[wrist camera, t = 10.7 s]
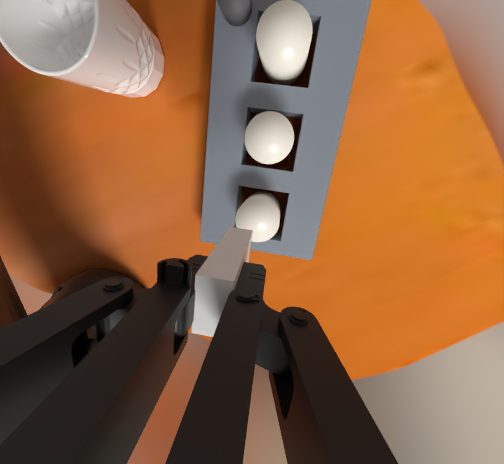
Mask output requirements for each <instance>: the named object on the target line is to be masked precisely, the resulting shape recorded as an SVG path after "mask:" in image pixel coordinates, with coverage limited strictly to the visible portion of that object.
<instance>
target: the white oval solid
mask: <svg viewBox="0 0 504 464" xmlns="http://www.w3.org/2000/svg"><path fill="white" fill-rule="evenodd" d="M293 143H294V131H293V127H292V125H291V123H290V122H289V120H288V119H287V118H286V117H285V116H284V115H282V114H280V113H278V112H274V111H266V112H262V113H260V114H258V115H256V116H255V117H254V118H253V119H252V120H251V121H250V122H249V124H248V126H247V128H246V131H245V146H246V149H247V151H248V153H249V154H250V155H251V157H252V158H253V159H255V160H256V161H258V162H260V163H263V164H274V163H277V162H280V161H281V160H283V159H284V158H285V157H286V156H287V155H288V154H289V152H290V151H291V149H292V146H293Z"/></svg>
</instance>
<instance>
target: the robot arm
mask: <svg viewBox="0 0 504 464" xmlns="http://www.w3.org/2000/svg"><path fill="white" fill-rule="evenodd" d="M252 232H253V230H247V229H241V228H234V227H229V228H228V230H227V231H226V232H225V234H224V235H223V237H222V238H221V239H220V241H219V242H218V244H217V245H216V247H215V248H214V249H213V251H212V252H211V254H210V255H209V256H202V255H195V256H193V257H190V258H189V259H188V260H184V259H178V258H171V259H165V260H162V261H160V262H158V265H157V283H156V284H155V285H154V286H153V287H152V288H148V289H144V288H143V287H142V286H141V285H140V284H139V283H137V282H136V281H135V280H133V279H131V278H130V277H128V276H126V275H124V274H122V273H119V272H116V271H112V270H107V269H91V270H87V271H84V272H81V273H79V274H78V275H76V276H74V277H72V278H71V279H69V280H67V281H66V282H64V283H63V284H62V285H61V286H59V287H58V288H57V290H56V291H55V292H54V293H53V295H52V297H51V299H50V300H48V301H47V302H46V303H45V304H44V305H43V306H42V307H41V308H40V310H39V311H36V312H34V313H32V314H30V315H27V313H26V311H25V309H24V306H23V304H22V302H21V300H20V298H19V296H18V293H17V291H16V289H15V287H14V285H13V283H12V280H11V278H10V276H9V274H8V272H7V269H6V267H5V265H4V263H3V261H2V259H1V256H0V464H127V462H128V460H129V458H130V456H131V454H132V452H133V450H134V448H135V446H136V444H137V442H138V440H139V437H140V436H141V434H142V432H143V430H144V428H145V426H146V423H147V422H148V420H149V417H150V415H151V413H152V412H153V410H154V408H155V405H156V403H157V402H158V400H159V397H160V395H161V393H162V391H163V389H164V387H165V385H166V383H167V381H168V379H169V377H170V375H171V373H172V371H173V369H174V367H175V365H176V363H177V361H178V359H179V357H180V355H181V353H182V351H183V349H184V347H185V345H186V343H187V340H188V330H189V328H190V326H191V324H192V333H195V334H200V335H205V336H211V337H213V338H212V341H211V343H210V346H209V349H208V351H207V354H206V357H205V359H204V362H203V365H202V367H201V370H200V373H199V375H198V378H197V381H196V384H195V386H194V389H193V391H192V394H191V397H190V399H189V402H188V405H187V407H186V410H185V413H184V416H183V418H182V421H181V423H180V426H179V429H178V431H177V434H176V437H175V439H174V442H173V445H172V447H171V450H170V453H169V455H168V458H167V461H166V463H165V464H243V455H244V447H245V440H246V432H247V424H248V416H249V408H250V400H251V391H252V384H253V376H254V367H255V364H257V365H258V366H260V367H262V368H264V369H266V370H268V371H269V379H270V383H271V388H272V393H273V398H274V402H275V407H276V412H277V416H278V421H279V426H280V430H281V435H282V439H283V444H284V449H285V454H286V458H287V463H288V464H398V463H397V461H396V459H395V457H394V455H393V454H392V452H391V450H390V448H389V447H388V445H387V443H386V441H385V439H384V438H383V436H382V434H381V432H380V430H379V429H378V427H377V425H376V424H375V422H374V420H373V418H372V416H371V414H370V413H369V411H368V409H367V408H366V406H365V404H364V402H363V400H362V399H361V397H360V395H359V393H358V391H357V390H356V388H355V386H354V384H353V383H352V381H351V379H350V377H349V375H348V374H347V372H346V370H345V368H344V367H343V365H342V363H341V361H340V359H339V358H338V356H337V354H336V352H335V351H334V349H333V347H332V345H331V344H330V342H329V340H328V338H327V336H326V335H325V333H324V331H323V329H322V328H321V326H320V324H319V322H318V320H317V319H316V318H315V316H314V315H313V314H312V313H310V312H309V311H307V310H305V309H302V308H299V307H287V308H285V309H283V310H282V311H281V313H280V312H277V311H275V310H273V309H271V308H270V307H268V306H267V305H266V304H265V303H264V301H263V291H264V283H265V275H266V269H265V268H264V266H263V265H259V264H254V263H248V261H249V254H250V247H251V239H252Z"/></svg>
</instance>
